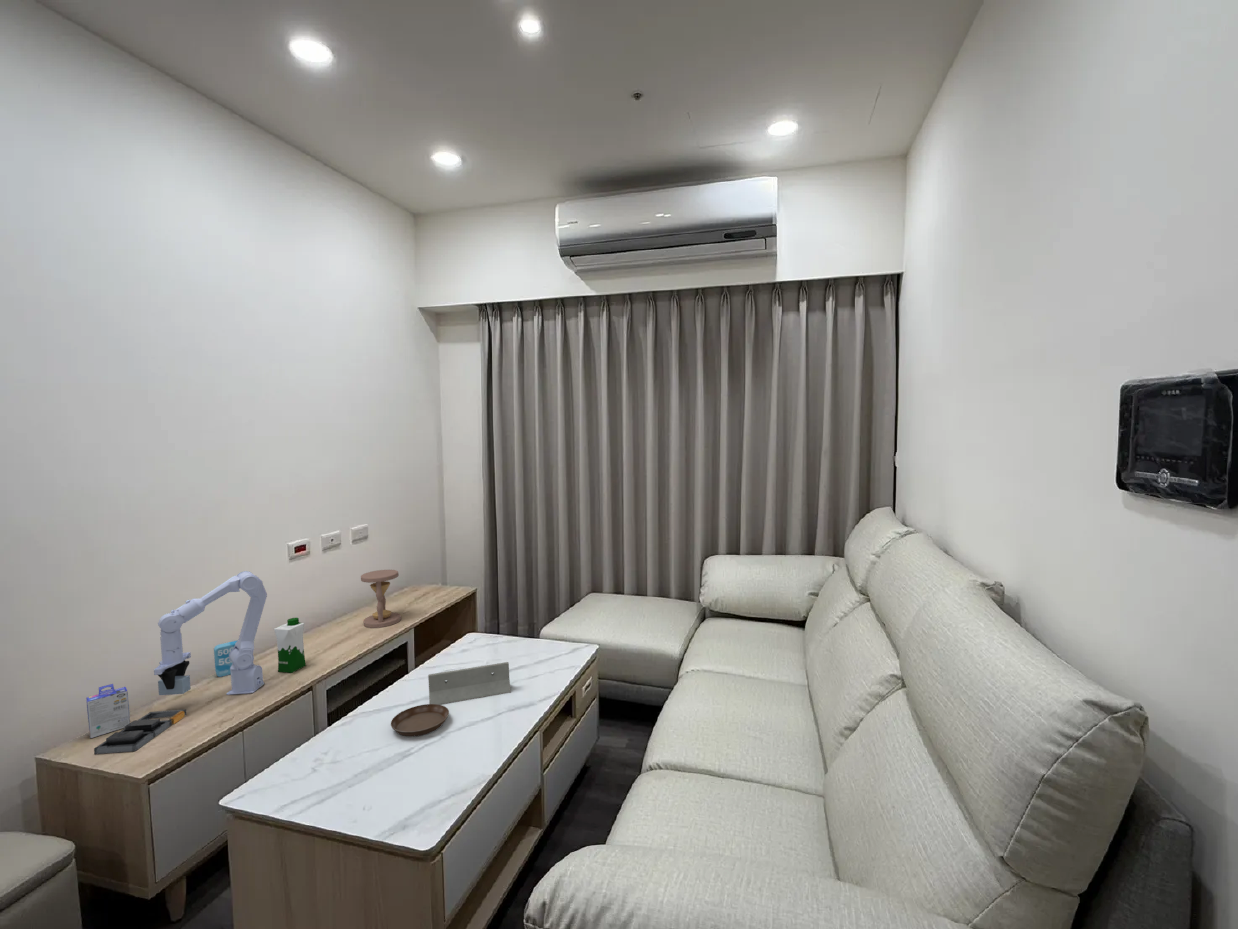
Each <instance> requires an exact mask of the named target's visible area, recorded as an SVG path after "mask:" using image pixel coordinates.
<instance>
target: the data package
mask: <svg viewBox="0 0 1238 929" xmlns="http://www.w3.org/2000/svg"><path fill="white" fill-rule="evenodd" d="M237 641H238V639H237V640H232V641H229V642H225V643H219V644H216V645H215V646H214V648H213V654H214V655H213V656H214V659H213V660H214V668H215V669H214V670H215V674H216V676H217V677H219V678H220V677H225V676H231V671H230V667H231V666H232V663H233V662H232V661H230V659H229V653H230V652H231V650H232V649H233V648H234V646H235V643H236V642H237Z"/></svg>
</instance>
